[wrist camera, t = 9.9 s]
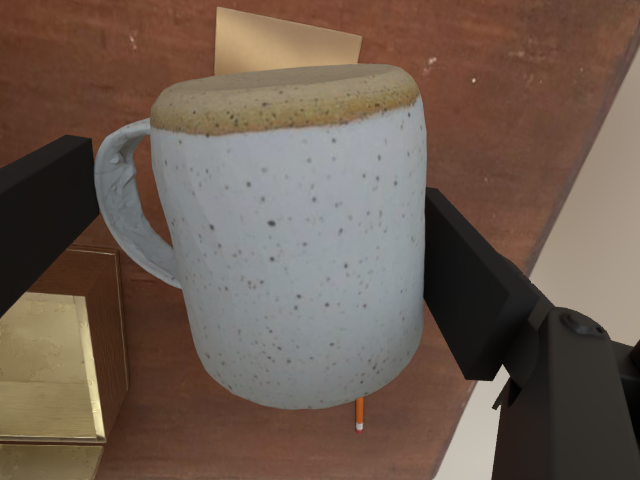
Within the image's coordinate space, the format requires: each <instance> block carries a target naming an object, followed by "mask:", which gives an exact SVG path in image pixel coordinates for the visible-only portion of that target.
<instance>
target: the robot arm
mask: <svg viewBox="0 0 640 480" xmlns="http://www.w3.org/2000/svg"><path fill="white" fill-rule="evenodd" d="M424 214H425V253H424V277H423V279H424V290H423V298H424V300H425V302H426V304H427V306H428V308H429V309H430V311H431V313H432V315H433V317H434V319H435V321H436V323H437V325H438V327H439V329H440V331H441V333H442V335H443V337H444V338H445V340H446V342H447V344H448V346H449V348H450V350H451V352H452V354H453V356H454V358H455V360H456V362H457V364H458V366H459V367H460V369H461V371H462V373H463V375H464V377H465V379H466V380H482V381H493V380H494V378H495V376H496V374H497V373H498V371H499V369H500V367H501V366H502V364H503V365H504V367H505V368H506V370H507V372H508V373H509V375H510V377H509V379H508V381H507V383H506V384H505V386H504V388H503V390H502V391H501V393H500V394H499V396H498V398H497V399H496V401H495V403H494V405H493V407H492V408H493V409H495V410H497V408H498V406H499V405H501V411H500V419H499V426H498V434H497V442H496V449H495V456H494V464H493V472H492V479H491V480H640V340H639V341H638V342H637V344H636V345H635V346H634V347H632V346H628V345H625V344H622V343H619V342H615V341H612V340H611V339H610V337H609V335H608V333H607V331H606V330H604V328H603V327H601V326H600V325H599V324H598V323H597V322H595V321H593V320H592V319H591V318H589V317H587V316H585V315H583V314H581V313H579V312H577V311H574V310H571V309H568V308H562V307H555V306H554V305H553V304H552V303H551V302H550V301H549V300H548V299H547V297H545V295H544V294H543V293H542V292H541V291H540V290H539V289H538V288H537V287H536V286H535V285H534V284H532V283H531V281H530V280H529V279H528V278H527V277H526V276H525V275H523V273H522V272H521V271H520V270H519V268H518V267H517V266H516V265H515V264H514V263H513V262H511V261H510V260H508V259H507V258H505V257H503V256H502V255H500V254H499V253H497V252H496V251H495V249H494V248H493V247H492V246H491V245H490V244H489V243H488V242H487V241H486V240H485V239H484V238H483V237H482V236H481V235H480V234H479V232H478V231H477V230H476V229H475V228H474V227H473V226H472V225H471V224H470V223H469V222H468V221H467V220H466V219H465V218H464V217H463V215H462V214H461V213H460V212H459V211H458V210H457V209H456V208H455V207H454V206H453V205H452V204H451V203H450V202H449V201H448V200H447V198H446V197H445V196H444V195H443V194H442V193H441V192H440V191H439V190H438V189H437V188H430V187H426V188H425V208H424ZM98 215H99V206H98V200H97V194H96V188H95V182H94V158H93V148H92V139H91V138H85V137H78V136H71V135H64V136H63V137H61V138H59V139H57V140H55V141H53V142H51V143H49V144H47V145H45V146H43V147H41V148H40V149H38V150H36V151H34V152H32V153H30V154H28V155H26V156H24V157H22V158H20V159H18V160H16V161H15V162H13V163H11V164H9V165H7V166H5V167H3V168H1V169H0V318H1V317H2V316H3V315H4V314H5V313H6V312H7V311H8V310H9V309H10V308H11V307H12V306H13V305H14V304H15V303H16V301H17V300H18V299H19V298H20V297H21V296H22V295H23V294H24V293H25V292H26V291H27V290H28V289H29V288H30V287H31V286H32V285H33V284H34V283H35V281H36V280H37V279H38V278H39V277H40V276H41V275H42V274H43V273H44V272H45V271H46V270H47V269H48V268H49V267H50V266H51V265H52V264H53V262H54V261H55V260H56V259H57V258H58V257H59V256H60V255H61V254H62V253H63V252H64V251H65V250H66V249H67V248H68V247H69V246H70V245H71V243H72V242H73V241H74V240H75V239H76V238H77V237H78V236H79V235H80V234H81V233H82V232H83V231H84V230H85V229H86V228H87V227H88V226H89V225H90V223H91V222H92V221H93V220H94V219H95V218H96V217H97V216H98Z"/></svg>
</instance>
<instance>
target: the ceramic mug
mask: <svg viewBox="0 0 640 480" xmlns="http://www.w3.org/2000/svg"><path fill="white" fill-rule="evenodd" d="M149 134H150V137H151V155H152V168H153V172H154V176H155V181H156V185H157V189H158V193H159V197H160V201H161V204H162V208H163V211H164V214H165V217H166V221H167V224H168V227H169V231H170V235H171V239H172V244H173V248H172V247H171V246H170V245H169V244H167V243H166V242H165V241H164V240H163V239H162V238H161V237H160V236H159V235H158V234H157V233H155V231H154V230H153V229H152V228H151V227H150V224H149V222H148V221H147V219H146V218H145V217H144V213H143V211H142V207H141V203H140V199H139V193H138V188H137V183H136V179H135V175H136V168H135V165H134V161H133V158H132V157H133V154H134V151H135V148H136V146H137V145H138V144H139V143H140V142H141V140H142V139H143V138H144V137H145V135H149ZM426 165H427V151H426V126H425V120H424V112H423V103H422V99H421V95H420V92H419V88H418V86H417V84H416V83H415V81H414V80H413V78H412V76H410V75H409V74H408V73H407V72H405V71H404V70H403V69H402V68H400V67H397V66H393V65H388V64H345V65H325V66H307V67H294V68H283V69H273V70H263V71H253V72H243V73H235V74H228V75H219V76H212V77H206V78H200V79H194V80H189V81H184V82H180V83H175V84H173V85H172V86H170V87H168V88H166V89H165V90H163V91H162V93H161V94H160V95H159V97H158V98H157V100H156V101H155V103H154V104H153V106H152V107H151V114H150V118H147V119H144V120H140V121H137V122H134V123H131V124H129V125H126V126H124V127H122V128H120V129H118V130H117V131H115V132H114V133H112V134H110V135H109V136H108V137H106V138H105V139H104V141H103V142H102V144H101V146H100V148H99V150H98V152H97V156H96V159H95V163H94V182H95V188H96V194H97V200H98V204H99V207H100V211H101V213H102V216H103V218H104V221H105V223H106V225H107V226H108V228H109V230H110V232H111V233H112V235H113V237H114V238H115V240H116V241H117V243H118V244H119V245H120V246H121V248H122V249H123V250H124V252H125V253H126V254H127V255H128V256H129V257H130V258H131V259H132V260H133V261H135V262H136V263H137V264H138V265H140V266H141V267H142V268H143V269H145V270H146V271H147V272H149V273H150V274H152V275H154V276H155V277H157V278H159V279H161V280H163V281H164V282H166V283H168V284H170V285H172V286H174V287H177V288H180V289H182V291H183V296H184V300H185V304H186V308H187V313H188V318H189V323H190V328H191V332H192V337H193V341H194V344H195V348H196V351H197V354H198V356H199V358H200V360H201V362H202V364H203V366H204V368H205V370H206V371H207V372H208V373H209V374H210V375H211V377H212V378H214V379H215V380H216V381H217V382H218V383H219V384H221V385H222V386H223V387H225V388H226V389H227V390H229V391H230V392H231V393H232V394H235V395H237V396H240V397H242V398H245V399H247V400H249V401H252V402H255V403H258V404H261V405H263V406H269V407H275V408H281V409H292V410H298V409H301V408H304V409H321V408H328V407H332V406H336V405H340V404H344V403H348V402H352V401H354V400H356V399H359V398H361V397H363V396H366V395H369V394H371V393H373V392H375V391H377V390H379V389H380V388H382V387H383V386H385V385H386V384H388V383H389V382H391V381H392V380H393V379H394V378H396V377H397V376H398V375H399V374H400V373H401V372H402V370H403V369H404V368H405V367H406V366H407V365H408V364H409V362H410V360H411V359H412V357H413V355H414V353H415V352H416V350H417V348H418V345H419V342H420V340H421V335H422V331H423V290H424V279H423V277H424V253H425V214H424V208H425V188H426Z"/></svg>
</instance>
